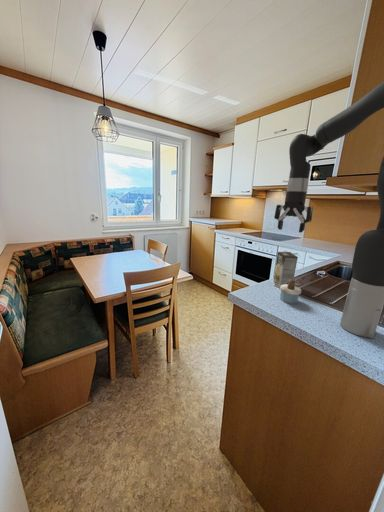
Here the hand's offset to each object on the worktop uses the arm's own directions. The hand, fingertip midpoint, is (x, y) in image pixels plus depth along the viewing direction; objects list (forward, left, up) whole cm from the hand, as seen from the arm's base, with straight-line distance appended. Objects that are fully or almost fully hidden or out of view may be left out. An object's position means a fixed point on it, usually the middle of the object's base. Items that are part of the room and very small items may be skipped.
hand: (289, 230), depth 90 cm
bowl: (-6, +5, -28) cm, 29 cm away
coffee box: (+3, -9, -28) cm, 30 cm away
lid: (-6, +5, -24) cm, 25 cm away
